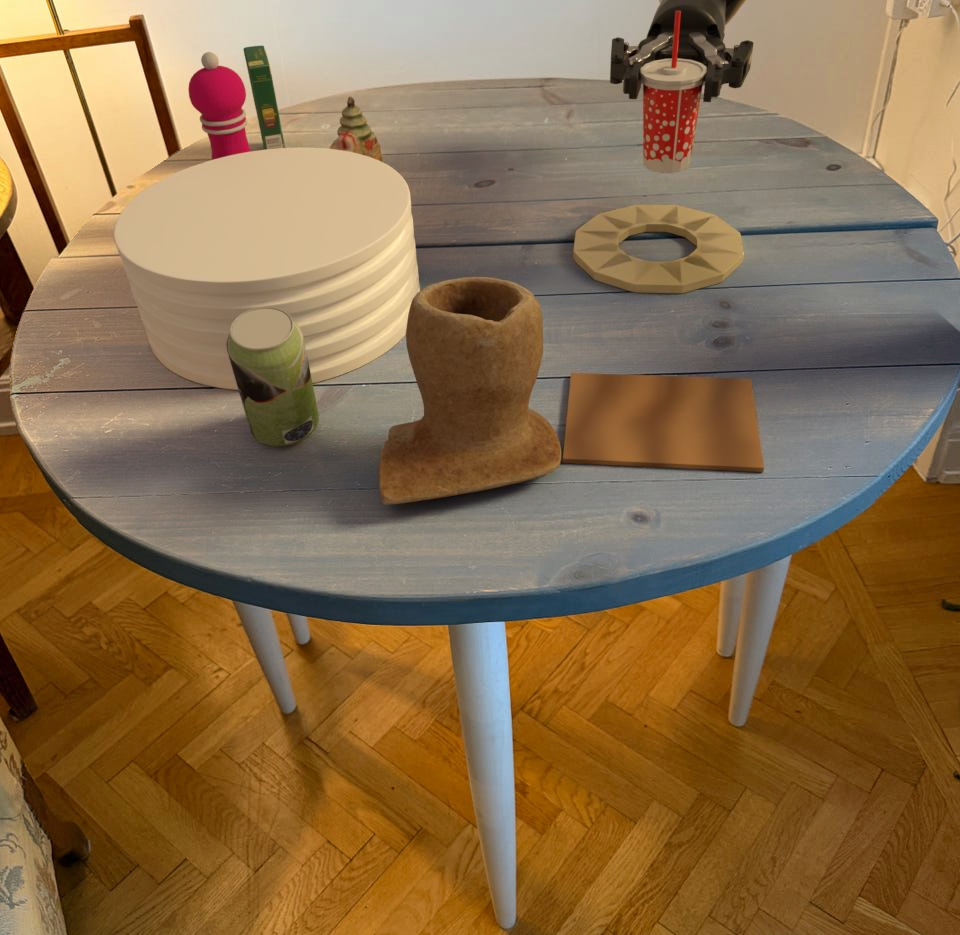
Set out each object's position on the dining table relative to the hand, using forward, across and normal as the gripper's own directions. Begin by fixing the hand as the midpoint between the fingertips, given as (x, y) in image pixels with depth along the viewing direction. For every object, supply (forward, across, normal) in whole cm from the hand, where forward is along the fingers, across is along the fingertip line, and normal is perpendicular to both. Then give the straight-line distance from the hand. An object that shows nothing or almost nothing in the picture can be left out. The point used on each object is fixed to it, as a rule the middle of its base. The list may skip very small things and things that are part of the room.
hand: (670, 89), depth 85 cm
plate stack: (+13, -37, +19) cm, 43 cm away
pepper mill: (-4, -49, +19) cm, 53 cm away
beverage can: (+32, -28, +19) cm, 47 cm away
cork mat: (+24, +3, +19) cm, 31 cm away
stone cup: (+32, -12, +19) cm, 39 cm away
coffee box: (-24, -54, +20) cm, 63 cm away
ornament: (-19, -40, +20) cm, 49 cm away
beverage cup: (-2, 0, +8) cm, 9 cm away
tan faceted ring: (-6, 0, +19) cm, 20 cm away
